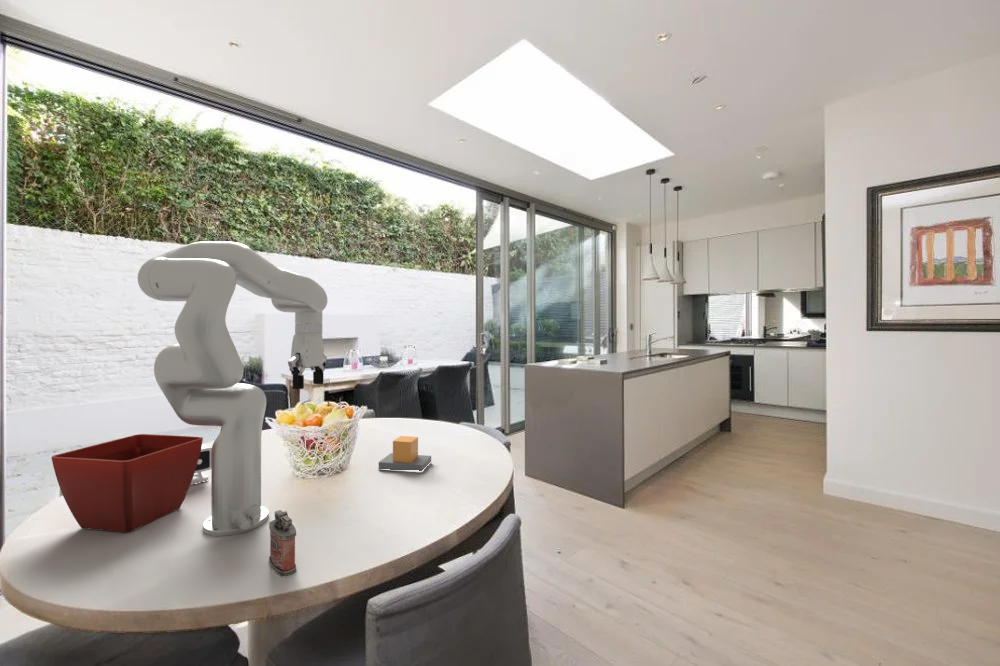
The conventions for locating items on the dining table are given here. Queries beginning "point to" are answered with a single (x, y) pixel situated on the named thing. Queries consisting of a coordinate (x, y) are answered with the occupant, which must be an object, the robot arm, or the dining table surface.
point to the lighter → (282, 544)
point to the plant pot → (127, 480)
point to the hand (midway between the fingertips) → (308, 386)
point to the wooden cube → (405, 449)
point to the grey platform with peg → (405, 463)
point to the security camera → (202, 465)
